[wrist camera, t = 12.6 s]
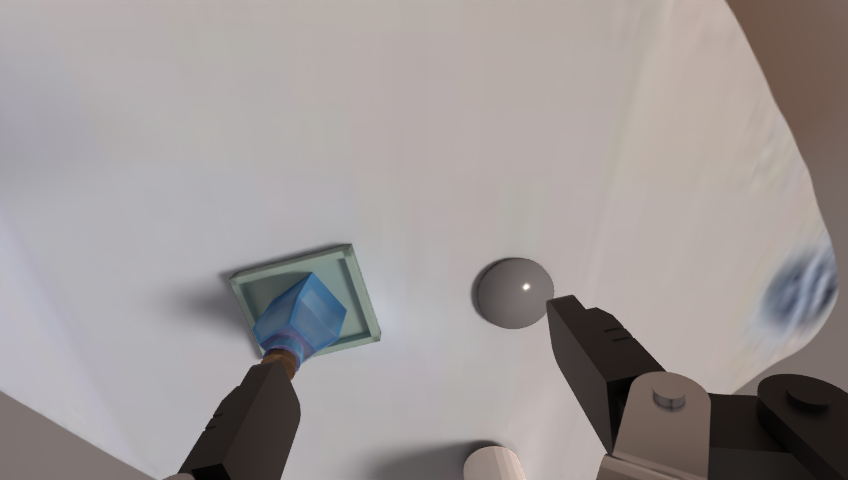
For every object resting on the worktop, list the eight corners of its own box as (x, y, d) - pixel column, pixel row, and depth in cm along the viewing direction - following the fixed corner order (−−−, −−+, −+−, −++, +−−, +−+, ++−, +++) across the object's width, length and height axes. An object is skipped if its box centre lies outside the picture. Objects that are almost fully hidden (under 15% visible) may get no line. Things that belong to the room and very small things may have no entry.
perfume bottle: (312, 271, 45) (279, 326, 34) (347, 310, 47) (327, 375, 36) (272, 300, 46) (227, 363, 35) (307, 337, 48) (275, 409, 37)
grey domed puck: (470, 268, 46) (471, 271, 46) (545, 249, 46) (548, 252, 45) (485, 332, 49) (486, 336, 49) (556, 316, 49) (558, 319, 48)
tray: (235, 273, 46) (228, 279, 44) (351, 243, 45) (349, 249, 43) (273, 358, 49) (268, 367, 48) (381, 332, 49) (380, 340, 47)
